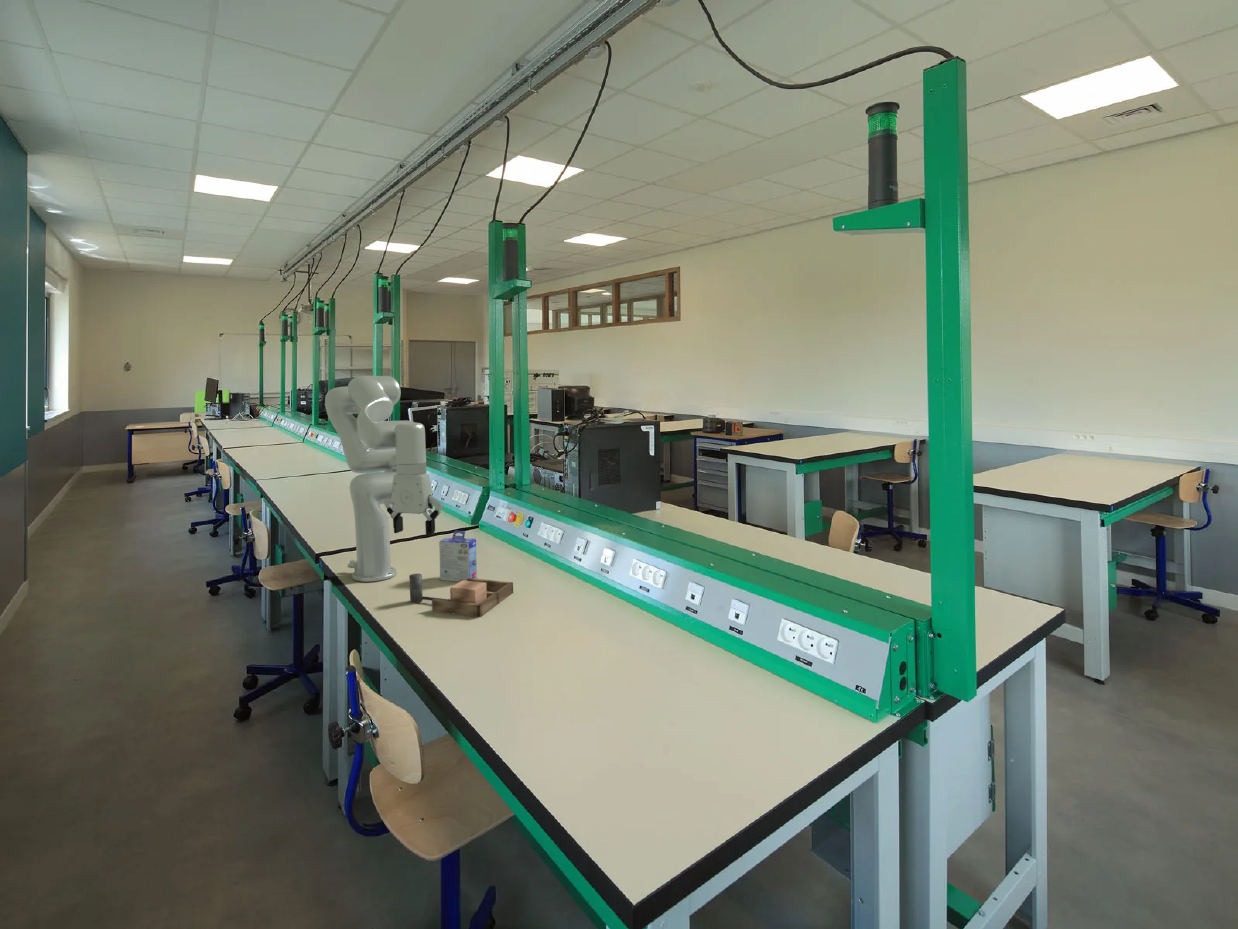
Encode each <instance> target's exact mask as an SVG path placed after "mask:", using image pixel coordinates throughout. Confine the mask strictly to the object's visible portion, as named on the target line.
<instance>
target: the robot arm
mask: <svg viewBox="0 0 1238 929" xmlns="http://www.w3.org/2000/svg"><path fill="white" fill-rule="evenodd" d="M401 391H402V390H401V387H400V384H399V383H398V381H397V380H396V378H394V377H393V376H389V375H359V376H356V377H354V378H352V379H351V380H350V381H349V383H348V385H347V386H339V387H338V386H337V387H334V388H332V389H330V390H328V391H327V393H326V395H325V399H324V400H325V401H324V405H325V411H326V414H327V416H328V420H329V421H330V423H331V424H332V426H333V428H334V429H335V431H336V433H337V435H338V437H339V440H340V445H341V446H342V451H343V453H344V458H345V460H346V464H347V466H348V468H349V470H350V471H351V472H352V473H355V474H358V475H356V476H355V477H353V478H352V479H351V481H350V483H349V492H350V493H349V494H350V497H351V501H352V505H353V506H352V507H353V515H354V526H355V527H354V528H355V529H354V531H355V549H356V559H350V561H349V563H348V564H347V568H349V569H354V571H353V572H352V573H351V574H352V575H351V576H352V579H353V580H354V581H357V582H364V583H365V582H366V583H368V582H378V581H379V582H380V581H385V580H388V579H391V578H393V577H394V576H396V575H397V573H398V572H397V569H396V568H395V567H393V566H392V560H391V542H390V540H391V539H390V538H391V537H390V536H391V535H390V520H389V517H388V514H389V516H390V518H391V519H392V526H393V534H397V533H401V532H403V531H404V519H403V518H404V517H403V516H401V515H402V514H412V515H413V514H416V515H420V514H422V515H423V516H424V517H425V518H426V520H425V521H424V523H425V535H426V536H430V535H434V534H435V533H436V532H435V531H436V519H437V518H438V516H439V515H440V514H441V511H442V509H443V506H444V504H443V502H441V501H439V500H438V499H436V498H434V496H433V489H432V484H431V483H432V481H431V479H430V475H429V474H427V451H426V446H427V445H426V429H425V425H424V424H422V423H421V422H415V421H413V420H387V419H389V418H390V417H391V415H392V413H393V412H394V406H395V405H396V404H398V402H399V401H400V398H401V393H402V392H401ZM354 415H357V417H355V416H354ZM380 505H384V507H385V508H386V511H387V513H388V514H387V513H386V512H385V511H384V510H383V509H382V507H380ZM433 508H434V510H433Z"/></svg>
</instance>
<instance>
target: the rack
mask: <svg viewBox="0 0 1238 929" xmlns="http://www.w3.org/2000/svg"><path fill="white" fill-rule="evenodd" d="M467 581H474V582H483V583H486V592H487V599H485V600H484V601H482V602H481V603H479V604H475V603H466V602H458V601H449V600H440V599H433V600H431V611H432V612H436V613H437V612H438V613H444V614H445V613H447V614H452V613H454V614H453V615H460V616H461V615H462V616H469V617H478V618H482V617H483V616H484V615H485V614H487V613H489V611H491V610H492V609H493V608H495V607H496V606H497V605H499V604H500V603H501V602H503V601H504V600H505V599H507V598H508V597H509V596H511V595H512V594H514V582H512V581H511V582H510V581H502V580H493V579H485V578H484V579H482V578H468V579H467ZM449 591H450V592H449V593H450V596H449V597H451V588H450V589H449Z"/></svg>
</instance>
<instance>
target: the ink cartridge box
mask: <svg viewBox="0 0 1238 929" xmlns="http://www.w3.org/2000/svg"><path fill="white" fill-rule="evenodd" d="M457 534H461V535H457ZM465 534H466V530H454V531H453V534H452V537H446V538H443V539H440V541H439V580H440V581H448V582H449V581H450V582H461V581H463V580H464V581H467V579H468V578H475V579H478V572H477V571H478V570H477V568H478V566H477V561H478V560H477V538H467V537H466V538H465V536H466V535H465Z"/></svg>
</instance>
